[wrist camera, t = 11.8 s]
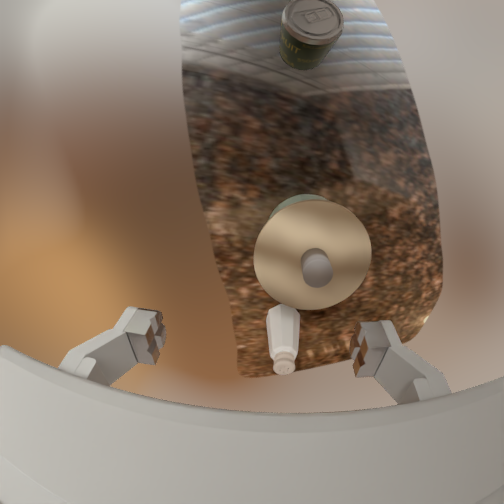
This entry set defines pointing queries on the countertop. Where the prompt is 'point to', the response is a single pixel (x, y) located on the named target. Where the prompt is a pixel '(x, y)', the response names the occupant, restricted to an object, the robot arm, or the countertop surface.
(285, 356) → the pepper shaker
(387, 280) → the countertop surface
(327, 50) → the beer can
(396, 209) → the countertop surface
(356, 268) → the lid
